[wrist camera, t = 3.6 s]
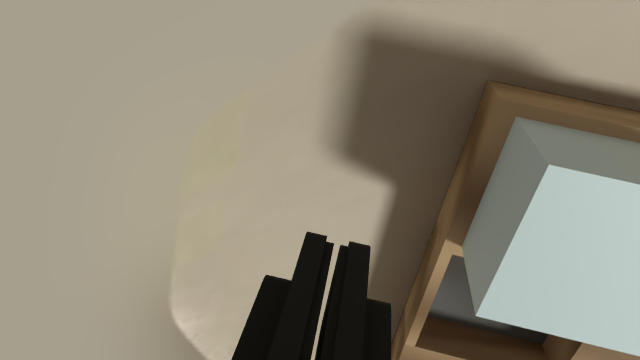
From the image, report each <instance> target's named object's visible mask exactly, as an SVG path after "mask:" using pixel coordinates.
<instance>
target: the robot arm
mask: <svg viewBox="0 0 640 360" xmlns="http://www.w3.org/2000/svg"><path fill="white" fill-rule="evenodd" d="M326 239H327V236H324V235H320V234H315V233H311V232H307V233H306V236H305V239H304V242H303V245H302V249H301V252H300V255H299V258H298V261H297V265H296V268H295V271H294V274H293V278H292V281H291V280H286V279H282V278H278V277H274V276H269V275H266V276H265V277H264V279H263V282H262V284H261V287H260V289H259V292H258V294H257V297H256V299H255V302H254V304H253V307H252V309H251V312H250V314H249V317H248V319H247V322H246V325H245V327H244V330H243V332H242V335H241V337H240V340H239V342H238V345H237V347H236V350H235V352H234V355H233V357H232V360H311V355H312V350H313V345H314V340H315V335H316V330H317V325H318V320H319V315H320V310H321V305H322V300H323V295H324V291H325V286H326V281H327V276H328V271H329V266H330V261H331V256H332V251H333V246H334V243H330V242H326ZM369 261H370V246H368V245H364V244H359V243H355V242H351V241H350V242H349V245H348V247H347V246H343V245H340V249H339V253H338V257H337V261H336V265H335V270H334V274H333V278H332V282H331V287H330V291H329V295H328V299H327V303H326V308H325V312H324V316H323V320H322V325H321V330H320V335H319V340H318V345H317V350H316V356H315V360H391V305H390V304H389V303H385V302H381V301H376V300H372V299H368V298H367V288H368V274H369Z"/></svg>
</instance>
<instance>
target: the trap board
mask: <svg viewBox="0 0 640 360" xmlns="http://www.w3.org/2000/svg"><path fill="white" fill-rule="evenodd" d="M516 117H521V118H525V119H530V120H535V121H539V122H544V123H549V124H553V125H558V126H563V127H567V128H572V129H577V130H581V131H586V132H591V133H596V134H600V135H605V136H610V137H614V138H619V139H624V140H628V141H633V142H638V143H640V112H637V111H632V110H627V109H622V108H618V107H613V106H608V105H603V104H599V103H594V102H589V101H584V100H579V99H575V98H570V97H565V96H560V95H555V94H551V93H546V92H541V91H536V90H531V89H527V88H522V87H517V86H512V85H507V84H503V83H498V82H493V81H488V82H487V85H486V87H485V90H484V93H483V96H482V98H481V101H480V104H479V106H478V109H477V112H476V115H475V117H474V120H473V123H472V126H471V128H470V131H469V134H468V137H467V139H466V142H465V145H464V147H463V150H462V153H461V156H460V158H459V161H458V164H457V167H456V169H455V172H454V175H453V178H452V180H451V183H450V186H449V189H448V191H447V194H446V197H445V199H444V202H443V205H442V208H441V210H440V213H439V216H438V219H437V221H436V224H435V227H434V230H433V232H432V235H431V238H430V240H429V243H428V246H427V249H426V251H425V254H424V257H423V260H422V262H421V265H420V268H419V271H418V273H417V276H416V279H415V281H414V284H413V287H412V290H411V292H410V295H409V298H408V301H407V303H406V306H405V309H404V312H403V314H402V317H401V320H400V322H399V325H398V328H397V331H396V333H395V336H394V339H393V342H392V344H391V360H640V356H636V355H632V354H628V353H624V352H620V351H616V350H612V349H608V348H603V347H599V346H595V345H591V344H587V343H583V342H579V341H575V340H571V339H567V338H563V337H559V336H555V335H551V334H547V333H543V332H539V331H535V330H531V329H526V328H522V327H518V326H514V325H510V324H506V323H502V322H498V321H494V320H490V319H486V318H482V317H478V316H475V311H474V306H473V301H472V296H471V291H470V286H469V281H468V276H467V271H466V266H465V261H464V256H463V251H462V245H463V242H464V240H465V238H466V235H467V233H468V230H469V228H470V226H471V223H472V221H473V218H474V216H475V214H476V211H477V209H478V206H479V204H480V202H481V199H482V197H483V194H484V192H485V190H486V187H487V185H488V182H489V180H490V178H491V175H492V173H493V170H494V168H495V166H496V163H497V161H498V158H499V156H500V154H501V151H502V149H503V146H504V144H505V142H506V139H507V137H508V134H509V132H510V130H511V127H512V125H513V122H514V120H515V118H516Z"/></svg>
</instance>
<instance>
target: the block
mask: <svg viewBox="0 0 640 360" xmlns="http://www.w3.org/2000/svg"><path fill="white" fill-rule="evenodd" d="M462 251H463V256H464V261H465V266H466V271H467V276H468V281H469V286H470V291H471V296H472V301H473V306H474V311H475V316H478V317H482V318H486V319H490V320H494V321H498V322H502V323H506V324H510V325H514V326H518V327H522V328H526V329H531V330H535V331H539V332H543V333H547V334H551V335H555V336H559V337H563V338H567V339H571V340H575V341H579V342H583V343H587V344H591V345H595V346H599V347H603V348H608V349H612V350H616V351H620V352H624V353H628V354H632V355H636V356H640V143H638V142H633V141H628V140H624V139H619V138H614V137H610V136H605V135H600V134H596V133H591V132H586V131H581V130H577V129H572V128H567V127H563V126H558V125H553V124H549V123H544V122H539V121H535V120H530V119H525V118H521V117H516V118H515V120H514V122H513V125H512V127H511V130H510V132H509V134H508V137H507V139H506V142H505V144H504V146H503V149H502V151H501V154H500V156H499V158H498V161H497V163H496V166H495V168H494V170H493V173H492V175H491V178H490V180H489V182H488V185H487V187H486V190H485V192H484V194H483V197H482V199H481V202H480V204H479V206H478V209H477V211H476V214H475V216H474V218H473V221H472V223H471V226H470V228H469V230H468V233H467V235H466V238H465V240H464V242H463V245H462Z"/></svg>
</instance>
